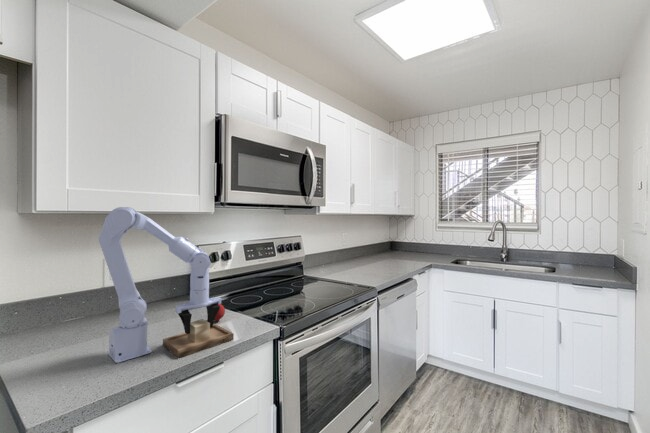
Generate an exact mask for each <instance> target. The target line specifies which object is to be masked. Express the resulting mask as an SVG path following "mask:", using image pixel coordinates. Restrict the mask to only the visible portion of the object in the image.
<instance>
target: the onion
mask: <svg viewBox="0 0 650 433" xmlns="http://www.w3.org/2000/svg"><path fill="white" fill-rule="evenodd" d="M218 305H219V306H220V309H219V311H218V313H217V315H216V317H215V320H214V322H218V321H220V320H221V319H222V318H223V317H224V315H225V313H226V309H225V307H224V305H223V304H222V303H221V304H218Z"/></svg>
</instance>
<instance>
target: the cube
mask: <svg viewBox="0 0 650 433" xmlns="http://www.w3.org/2000/svg"><path fill="white" fill-rule="evenodd" d="M208 338H210V323H209V322H207V320H205V319H202V318H201V319H198V320H194V321H191V322H190V334H188V339H190V340H192V341H193V342H198V341H202V340H205V339H208Z"/></svg>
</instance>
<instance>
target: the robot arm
mask: <svg viewBox="0 0 650 433" xmlns="http://www.w3.org/2000/svg"><path fill="white" fill-rule="evenodd" d="M102 225H103V226H102V228H101V231H100V234H99V236H98V243H99V245H100V248H101V251H102V254H103V256H104V259H105V262H106V266H107V269H108V271H109V275H110V278H111V280H112V283H113V286H114V288H115V292H116V295H117V297H118V299H117V300H118V308H119V316H118V321H119V325H118V326H116V327H114V328H111V329H110V330H109V334H108V336H109V337H108V338H109V340H108V341H109V342H108V344H109V345H108V346H109V348H108V349H109V351H108V356H109V357H110V358H111V359H112V360H113V361H114V363H116V364H119V363H122V362H125V361H129V360H132V359H134V358H135V359H136V358H139V357H142V356H144V355H145V356H146V355H149V354H151V353H153V350H152V349H151V348H150V347H149V346H148V319H147V318H146V317H145V316H146V315H145V314H146V312H147V308H148V304H147V302H146V301H145V300H144V299H143V298H142V297H141V294H140V292H139V291H138V289H137V287H136V283H135V282H134V278H133V274H132V273H131V269H130V266H129V262H128V260H127V257H126V254H125V251H124V248H123V245H122V242H121V240H122V238H123V237H124V236H125V234H126V233H127V231H129V229H131V228H132V227H133V230H138V231H140V230H141V231H145V232H147V233H148V234H151V235H152V236H154V237H155V238H156V239H158V240H160V242H162V243H164V244H166V245H167V246H168V251H169V252H170V253H171V254H173V255H174V256H176V257H177V258H178V259H180V260H182V261H183V262H185V263H190V269H191V270H190V275H189V276H190V277H189V278H190V281H189V282H190V283H189V287H190V289H189V301H188V302H185V303H182V304H177V305H175V313H176V314H177V315H178V316H179V318H180V320H181V322H182V324H183V330H184V333H186V334H190V322H192V316H193V314H192V313H191V312H190V311H192V310H193V311H194V310H197V309H201V308H206V312H207V313H206V314H207V318H206V319H207V320H206V321H207V322H209V323H210V328H212V327H213V325H214V323H215V317H216V315H217V313H218V311H219V309H220V306H219V305H218V304H222V297H219V296H217V297H211V298H210V274H209V272H210V266H211V263H212V262H211V258H210V257H209V255H208V254H207V252H206V251H205V250H202V248H201V247H197V246H196V245H194V243H192V242H190V239H189V238H188V237H183V236H174V235H173V234H172V233H170V232H169V231H168V230H167V229H165V228H164V227H162V226H161V225H160V224H158V223H157V222H156V221H154V220H153V218H150V217H148V216H147V215H145V214H143V213H141V212H138V211H136V210H135V209H134V208H132V207H129V206H118V207H115V208H114V209H112V210H111V211H110V212H109V214H108V215H107V216H106V217H105V218H104V223H103V224H102Z"/></svg>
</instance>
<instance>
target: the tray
mask: <svg viewBox="0 0 650 433" xmlns="http://www.w3.org/2000/svg"><path fill="white" fill-rule="evenodd" d="M231 340H232V341H234V332H231V331H229V330H228V329H225V328H223V327H222V326H220V325H218V324H214V323H213V327H212V328H210V338H208V339H205V340H202V341H198V342H193V341H192V340H190V339H188V334H186V333H185V332H183V333H179V334H175V335H172V336H169V337H165V338H163V339H162V346H163V347H164V348H165V349H166V350H168V351H169V352H170V353H172V354H173V355H174V356H176V357H177V358H178V359H180V358H184V357H187V356H191V355H193V354H195V353H198V352H199V353H200V352H202V351H205V350H208V349H210V348H213V347H216V346H219V345H223V344H225V343H226V344H227V343H228V342H232V341H231Z"/></svg>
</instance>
